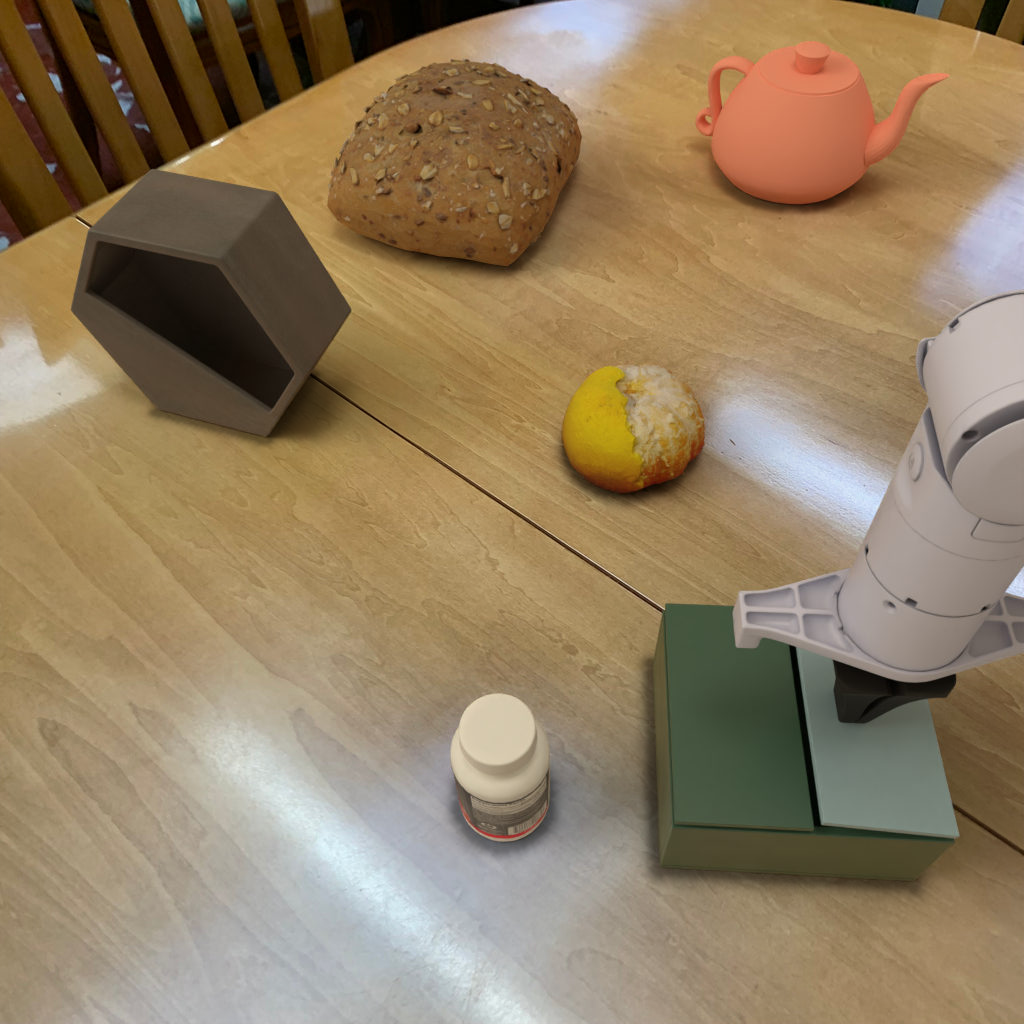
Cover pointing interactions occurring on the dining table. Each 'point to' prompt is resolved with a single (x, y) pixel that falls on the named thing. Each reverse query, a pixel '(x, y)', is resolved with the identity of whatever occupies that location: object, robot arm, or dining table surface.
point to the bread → (456, 163)
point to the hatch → (874, 762)
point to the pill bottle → (501, 767)
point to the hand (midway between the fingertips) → (849, 705)
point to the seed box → (750, 763)
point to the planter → (208, 298)
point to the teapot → (801, 123)
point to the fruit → (632, 427)
